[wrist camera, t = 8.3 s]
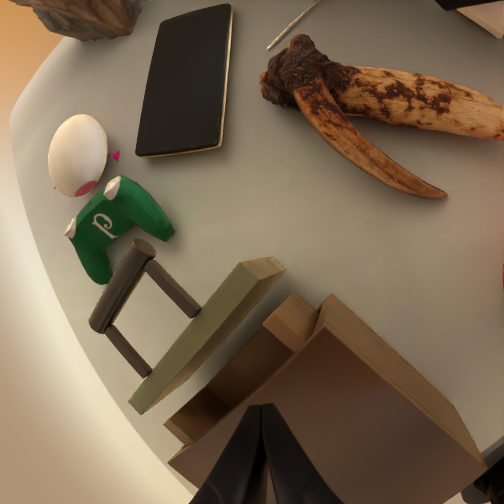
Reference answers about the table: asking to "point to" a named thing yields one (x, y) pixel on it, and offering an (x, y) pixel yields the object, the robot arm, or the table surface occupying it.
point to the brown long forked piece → (375, 107)
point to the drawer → (205, 337)
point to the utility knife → (461, 3)
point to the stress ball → (78, 155)
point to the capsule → (487, 16)
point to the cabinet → (356, 420)
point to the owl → (87, 17)
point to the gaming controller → (114, 224)
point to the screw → (292, 24)
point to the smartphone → (187, 84)
